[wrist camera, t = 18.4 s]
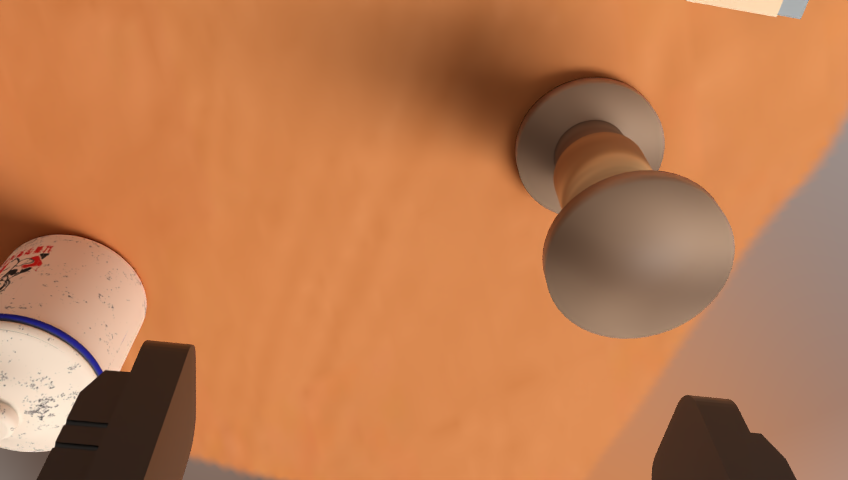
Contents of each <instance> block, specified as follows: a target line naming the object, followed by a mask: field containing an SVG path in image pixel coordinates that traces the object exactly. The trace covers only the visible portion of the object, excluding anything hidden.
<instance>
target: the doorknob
mask: <svg viewBox="0 0 848 480" xmlns="http://www.w3.org/2000/svg"><path fill="white" fill-rule="evenodd" d="M664 147H665V139H664V132H663V128H662V125H661V122H660V120H659V118H658V116H657V114H656V112H655V111H654V109H653V108H652V106H651V105H650V103H649V102H648V101H647V99H646V98H645V97H644V96H643V95H642V94H641V93H639V92H638V91H637V90H636V89H634V88H633V87H631V86H629V85H627V84H625V83H623V82H620V81H617V80H613V79H609V78H600V77H591V78H582V79H577V80H573V81H570V82H567V83H565V84H562V85H560V86H558V87H556V88H554V89H553V90H551V91H549V92H548V93H547V94H545V95H544V96H542V97H541V98H540V99H539V100H538V101H537V102H536V103H535V104H534V105H533V106H532V108H531V109H530V110H529V111H528V113H527V114H526V116H525V118H524V119H523V121H522V123H521V125H520V128H519V131H518V134H517V139H516V144H515V156H516V163H517V167H518V171H519V174H520V178H521V180H522V183H523V185H524V186H525V188H526V190H527V191H528V193H529V194H530V195H531V196H532V197H533V198H534V199H535V200H536V201H537V202H538V203H539V204H541V205H542V206H543V207H545V208H546V209H549V210H551V211H553V212H555V213H558V215H557V217H556V218H555V219H554V221H553V223H552V225H551V227H550V229H549V231H548V234H547V236H546V239H545V243H544V248H543V259H542V260H543V270H544V274H545V278H546V282H547V286H548V290H549V293H550V295H551V297H552V300H553V301H554V303H555V305H556V306H557V308H558V309H559V310H560V311H561V312H562V314H563V315H564V316H565V317H566V318H568V319H569V320H570V321H571V322H572V323H574V324H576V325H577V326H579V327H580V328H582V329H584V330H587V331H589V332H591V333H594V334H598V335H601V336H606V337H611V338H622V339H627V338H641V337H648V336H652V335H657V334H660V333H663V332H666V331H669V330H671V329H674V328H676V327H678V326H680V325H682V324H684V323H686V322H687V321H689V320H691V319H692V318H694V317H695V316H696V315H698V314H699V313H700V312H702V311H703V310H704V309H705V308H706V307H707V306H708V305H709V304H710V303H711V302H712V301H713V300H714V299H715V298H716V297H717V295H718V294H719V292H720V291H721V290H722V288H723V286H724V285H725V283H726V281H727V279H728V277H729V274H730V272H731V269H732V265H733V260H734V252H735V244H734V236H733V232H732V229H731V226H730V224H729V222H728V220H727V217H726V216H725V215H724V213H723V212H722V210H721V209H720V207H719V206H718V204H717V203H716V201H715V200H714V198H713V197H712V196H711V195H710V194H709V193H708V192H707V191H706V190H705V189H704V188H702V187H701V186H700V185H698V184H697V183H695V182H693V181H691V180H689V179H688V178H685V177H683V176H680V175H677V174H674V173H669V172H665V171H658V170H659V168H660V166H661V162H662V159H663V155H664Z"/></svg>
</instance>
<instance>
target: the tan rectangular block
mask: <svg viewBox="0 0 848 480" xmlns="http://www.w3.org/2000/svg"><path fill="white" fill-rule="evenodd" d="M686 1H690V2H696V3H701V4H707V5H712V6H718V7H724V8H729V9H735V10H740V11H746V12H751V13H757V14H762V15H768V16H773V17H777V14H778V12H779V10H780V7H781V5H782V2H783V0H686Z"/></svg>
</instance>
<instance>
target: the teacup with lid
mask: <svg viewBox="0 0 848 480" xmlns="http://www.w3.org/2000/svg"><path fill="white" fill-rule="evenodd" d="M146 307H147V302H146V294H145V291H144V287H143V285H142V282H141V280H140V279H139V277H138V275H137V274H136V272H135V271H134V270H133V268H132V267H131V266H130V265H129V264H128V263H127V262H126V261H125V260H124V259H123V258H122V257H121V256H119V255H118V254H117V253H115V252H114V251H112V250H111V249H109V248H108V247H106V246H104V245H102V244H100V243H97V242H95V241H92V240H90V239H86V238H83V237H78V236H72V235H48V236H43V237H38V238H35V239H32V240H30V241H28V242H26V243H24V244H22V245H21V246H19V247H18V248H17V249H16V250H15V251H14V252H13V253H12V254H11V255H10V256H9V257H8V258H7V260H6V261H5V262H4V263H3V265H2V266H1V267H0V447H1V448H5V449H9V450H15V451H23V452H43V451H51V450H52V448H54V447H55V441H56V439H57V437H58V435H59V433H60V431H61V429H62V427H63V425H65V424H66V419H67V417H68V415H69V413H70V411H71V409H72V407H73V405H74V403H75V401H76V399H77V397H78V395H79V393H80V392H81V391H82V390H83V389H84V388H85V387H86V386H87V385H89V384H90V383H91V382H92V381H93V380H94V379H96V378H97V377H98V376H99V375H100V374H101V373H102V372H104V371H105V370H111V371H120V370H121V367H122V365H123V363H124V361H125V359H126V357H127V355H128V353H129V351H130V349H131V346H132V344H133V342H134V340H135V338H136V336H137V334H138V332H139V330H140V328H141V325H142V323H143V321H144V318H145V314H146Z"/></svg>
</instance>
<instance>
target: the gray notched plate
mask: <svg viewBox="0 0 848 480" xmlns="http://www.w3.org/2000/svg"><path fill="white" fill-rule="evenodd" d="M808 1H809V0H783V2H782V5H781V7H780V10H779V12H778V14H777V15H781V16H786V17H792V18H797V19H801V17H802V15H803V12H804V10H805V8H806V5H807V3H808Z"/></svg>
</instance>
